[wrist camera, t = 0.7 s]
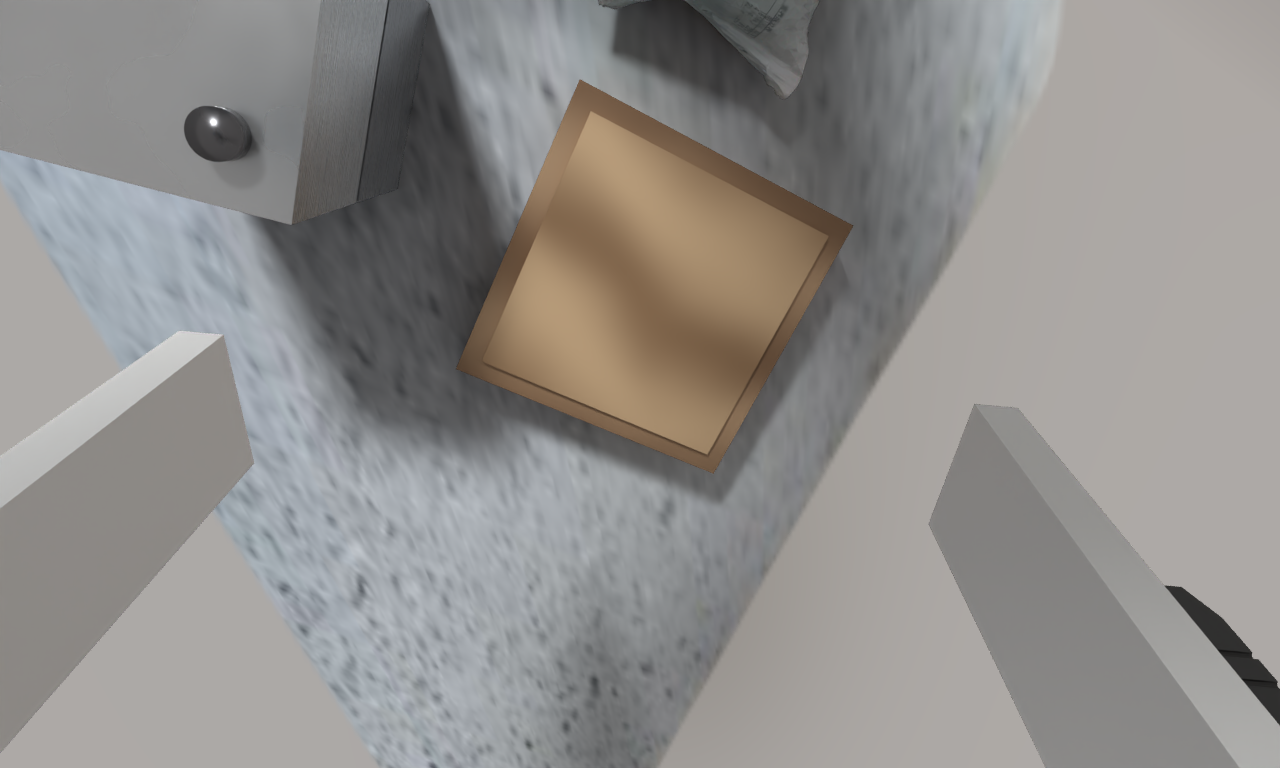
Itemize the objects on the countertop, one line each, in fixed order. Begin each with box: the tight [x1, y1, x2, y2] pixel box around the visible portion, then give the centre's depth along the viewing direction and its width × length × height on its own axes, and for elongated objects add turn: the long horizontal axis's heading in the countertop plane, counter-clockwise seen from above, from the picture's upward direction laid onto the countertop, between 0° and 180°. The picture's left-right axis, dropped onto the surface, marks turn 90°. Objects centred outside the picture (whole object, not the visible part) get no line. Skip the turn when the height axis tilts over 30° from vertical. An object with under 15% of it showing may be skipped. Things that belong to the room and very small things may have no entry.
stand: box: [456, 80, 853, 474], centre depth 29 cm, size 12×12×3 cm
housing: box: [0, 0, 430, 225], centre depth 21 cm, size 7×7×13 cm
